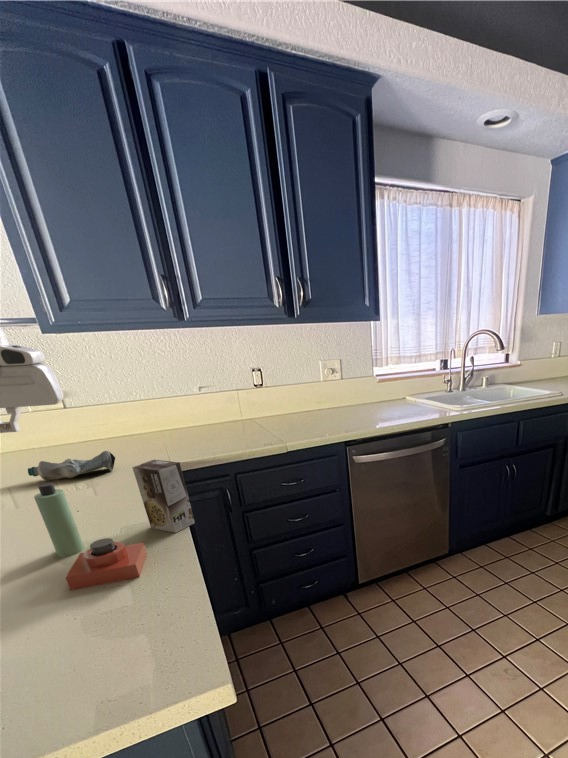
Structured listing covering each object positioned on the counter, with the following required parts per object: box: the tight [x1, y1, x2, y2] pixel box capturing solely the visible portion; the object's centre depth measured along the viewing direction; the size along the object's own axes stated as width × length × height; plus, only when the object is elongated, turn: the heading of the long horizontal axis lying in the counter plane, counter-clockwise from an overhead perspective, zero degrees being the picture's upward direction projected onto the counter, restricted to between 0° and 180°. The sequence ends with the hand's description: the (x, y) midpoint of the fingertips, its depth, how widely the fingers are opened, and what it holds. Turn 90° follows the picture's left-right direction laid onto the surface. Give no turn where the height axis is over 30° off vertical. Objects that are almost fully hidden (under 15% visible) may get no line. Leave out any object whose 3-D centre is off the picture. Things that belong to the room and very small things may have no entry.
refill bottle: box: [33, 482, 85, 557], centre depth 94 cm, size 5×5×16 cm
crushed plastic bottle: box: [27, 450, 116, 481], centre depth 146 cm, size 13×7×25 cm
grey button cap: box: [89, 537, 116, 556], centre depth 86 cm, size 4×4×2 cm
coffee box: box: [132, 459, 196, 534], centre depth 104 cm, size 9×6×16 cm
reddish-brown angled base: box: [65, 541, 148, 591], centre depth 87 cm, size 12×10×5 cm
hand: (9, 432), depth 81 cm, fingers closed
